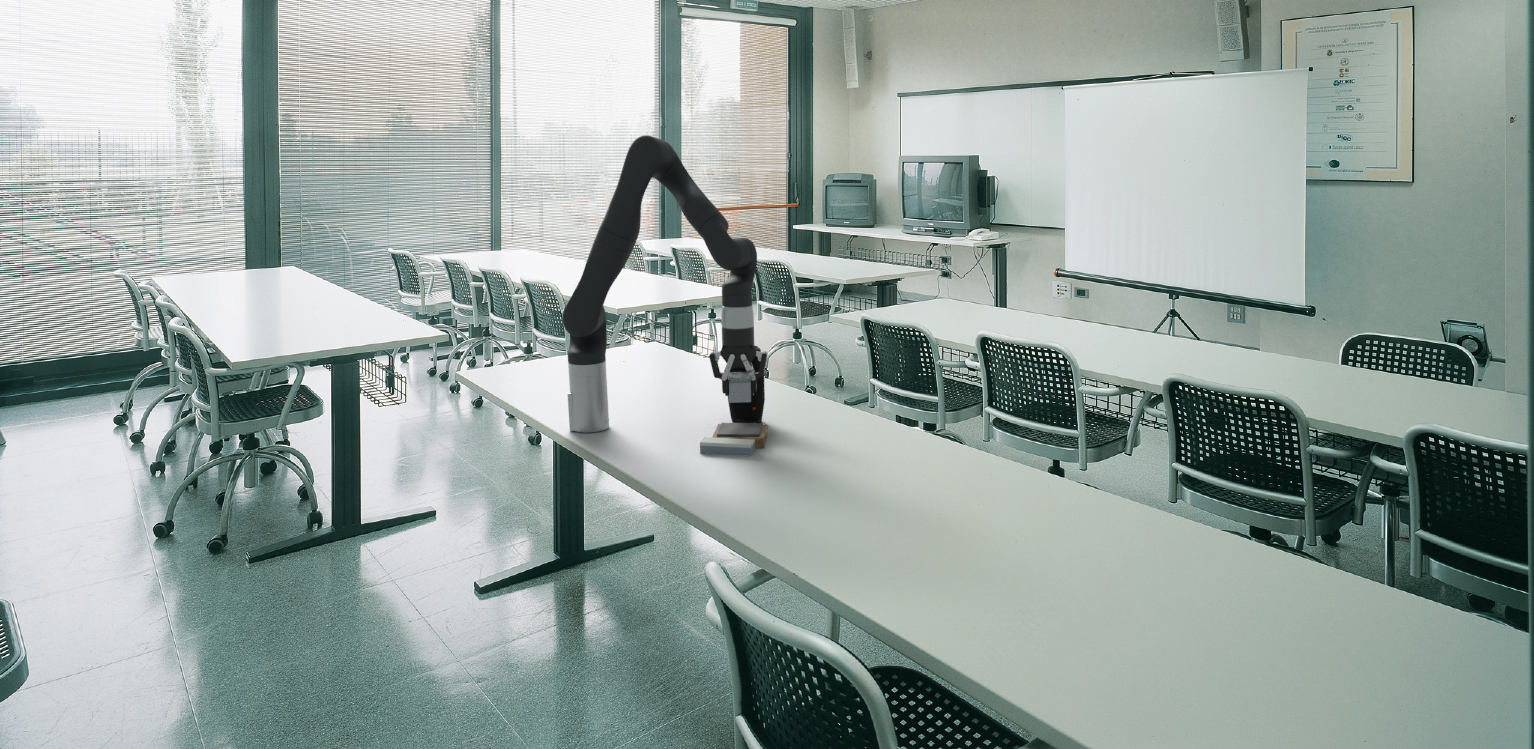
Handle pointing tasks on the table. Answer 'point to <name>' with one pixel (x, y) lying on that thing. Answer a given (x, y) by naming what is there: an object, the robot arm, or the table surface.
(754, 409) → the portable speaker
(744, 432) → the stand
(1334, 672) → the table surface
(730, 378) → the block
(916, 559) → the table surface
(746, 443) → the eraser
